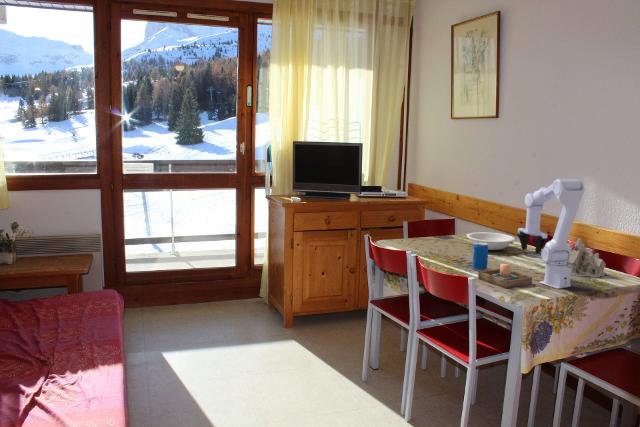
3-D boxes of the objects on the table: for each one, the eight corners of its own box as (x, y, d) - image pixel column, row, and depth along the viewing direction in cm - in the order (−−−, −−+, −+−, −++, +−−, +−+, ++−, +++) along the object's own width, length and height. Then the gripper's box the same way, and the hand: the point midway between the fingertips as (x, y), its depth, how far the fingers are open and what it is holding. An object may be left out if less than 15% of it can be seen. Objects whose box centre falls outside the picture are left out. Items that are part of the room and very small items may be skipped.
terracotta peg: (511, 278, 232) (511, 264, 231) (507, 280, 229) (508, 266, 228) (501, 277, 234) (502, 263, 233) (498, 279, 231) (498, 265, 230)
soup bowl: (523, 250, 288) (524, 238, 287) (493, 256, 274) (494, 243, 273) (486, 242, 307) (487, 230, 306) (456, 247, 294) (457, 235, 293)
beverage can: (470, 267, 253) (471, 241, 251) (484, 267, 253) (486, 242, 251) (474, 271, 247) (475, 245, 245) (488, 271, 247) (490, 245, 245)
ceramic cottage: (553, 270, 249) (558, 238, 246) (579, 268, 256) (585, 236, 253) (581, 281, 235) (587, 247, 232) (608, 279, 242) (614, 245, 239)
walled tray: (531, 284, 228) (532, 277, 227) (506, 288, 222) (506, 281, 221) (502, 274, 242) (503, 268, 241) (478, 278, 236) (478, 271, 235)
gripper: (553, 223, 238) (550, 253, 240) (526, 217, 251) (524, 247, 253) (541, 224, 235) (539, 255, 237) (515, 218, 248) (513, 248, 250)
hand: (530, 251), depth 245 cm, fingers open, 7 cm apart
